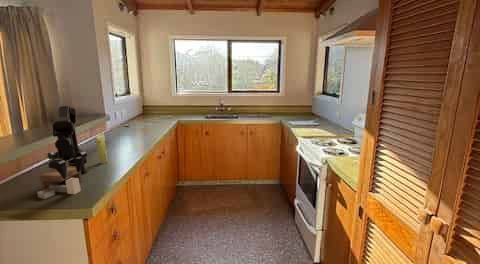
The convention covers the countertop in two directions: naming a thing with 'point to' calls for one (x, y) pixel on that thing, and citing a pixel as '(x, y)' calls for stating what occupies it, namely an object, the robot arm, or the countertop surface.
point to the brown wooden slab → (58, 177)
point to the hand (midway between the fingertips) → (71, 175)
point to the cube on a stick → (67, 186)
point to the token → (46, 193)
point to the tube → (101, 148)
